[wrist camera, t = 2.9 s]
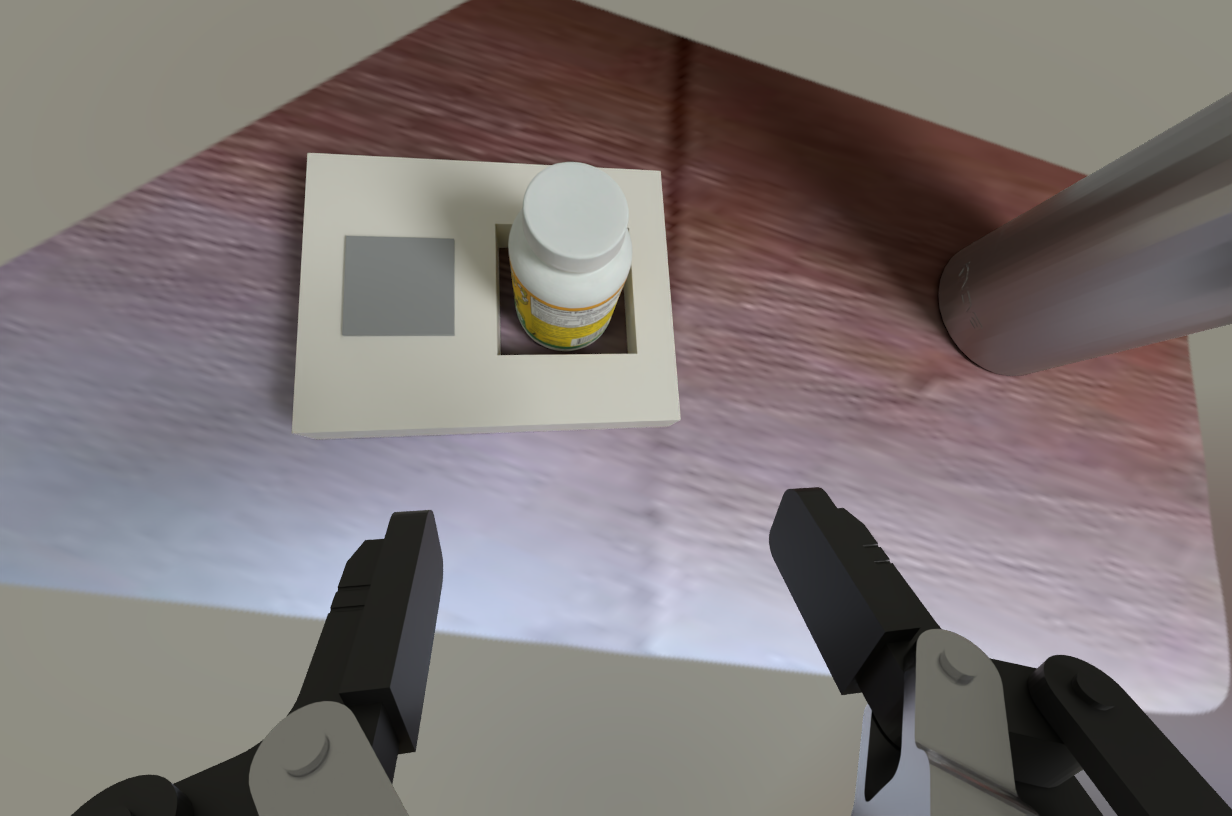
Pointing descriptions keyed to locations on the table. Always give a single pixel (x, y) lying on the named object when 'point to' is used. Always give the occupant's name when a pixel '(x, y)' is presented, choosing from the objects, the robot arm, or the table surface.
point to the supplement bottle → (569, 255)
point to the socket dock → (457, 308)
